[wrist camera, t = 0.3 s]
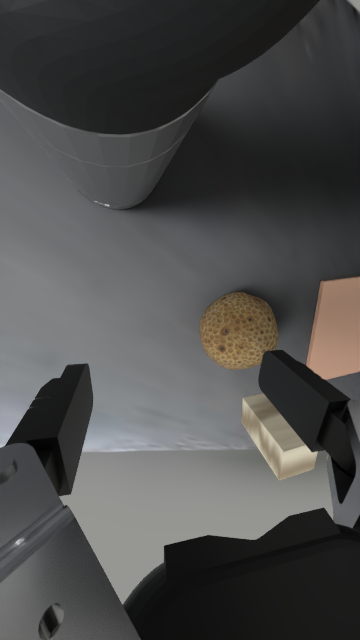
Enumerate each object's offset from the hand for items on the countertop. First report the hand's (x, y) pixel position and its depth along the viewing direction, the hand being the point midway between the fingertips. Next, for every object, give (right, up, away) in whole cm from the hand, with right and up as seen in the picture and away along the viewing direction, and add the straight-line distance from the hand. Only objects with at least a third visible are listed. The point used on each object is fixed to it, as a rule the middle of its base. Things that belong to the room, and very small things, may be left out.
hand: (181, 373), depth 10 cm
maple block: (+13, -13, +28) cm, 33 cm away
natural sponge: (+5, +3, +20) cm, 21 cm away
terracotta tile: (+30, +1, +27) cm, 40 cm away
